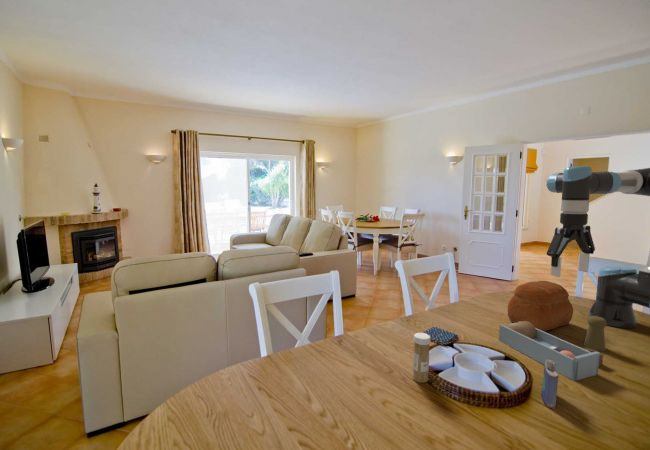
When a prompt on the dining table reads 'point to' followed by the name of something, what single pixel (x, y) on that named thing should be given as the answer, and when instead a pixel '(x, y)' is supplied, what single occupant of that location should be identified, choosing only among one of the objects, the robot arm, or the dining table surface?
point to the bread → (541, 305)
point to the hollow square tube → (599, 358)
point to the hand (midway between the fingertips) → (569, 273)
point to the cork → (595, 334)
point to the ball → (568, 353)
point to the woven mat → (441, 335)
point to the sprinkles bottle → (421, 357)
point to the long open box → (550, 350)
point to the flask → (549, 384)
